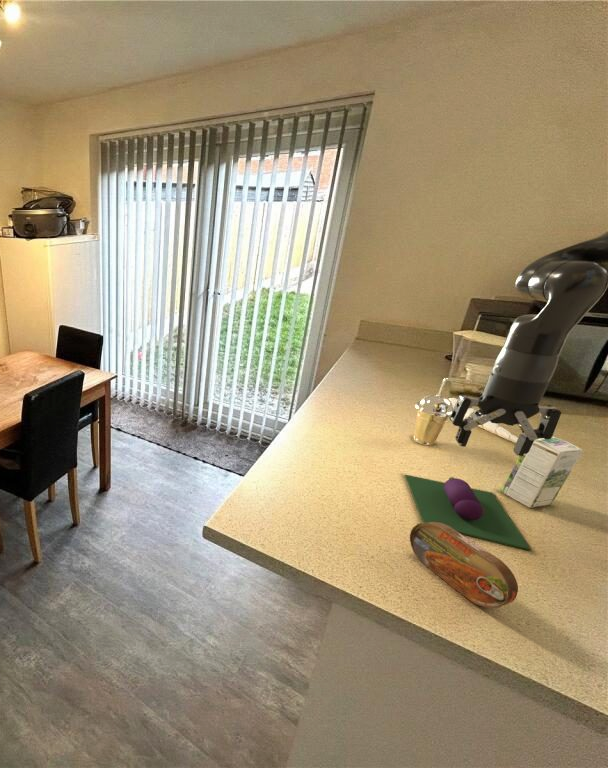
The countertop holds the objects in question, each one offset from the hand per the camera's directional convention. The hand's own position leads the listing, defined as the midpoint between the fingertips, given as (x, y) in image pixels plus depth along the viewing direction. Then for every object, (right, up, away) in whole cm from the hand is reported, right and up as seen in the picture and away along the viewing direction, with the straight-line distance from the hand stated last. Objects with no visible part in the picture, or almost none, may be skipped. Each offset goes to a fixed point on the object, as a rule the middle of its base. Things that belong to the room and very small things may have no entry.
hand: (488, 449), depth 78 cm
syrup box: (+17, -13, +9) cm, 23 cm away
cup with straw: (+13, -3, +31) cm, 34 cm away
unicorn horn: (+36, 0, +38) cm, 52 cm away
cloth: (0, -14, +6) cm, 15 cm away
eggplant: (0, -13, +6) cm, 15 cm away
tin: (-17, -21, -10) cm, 29 cm away
